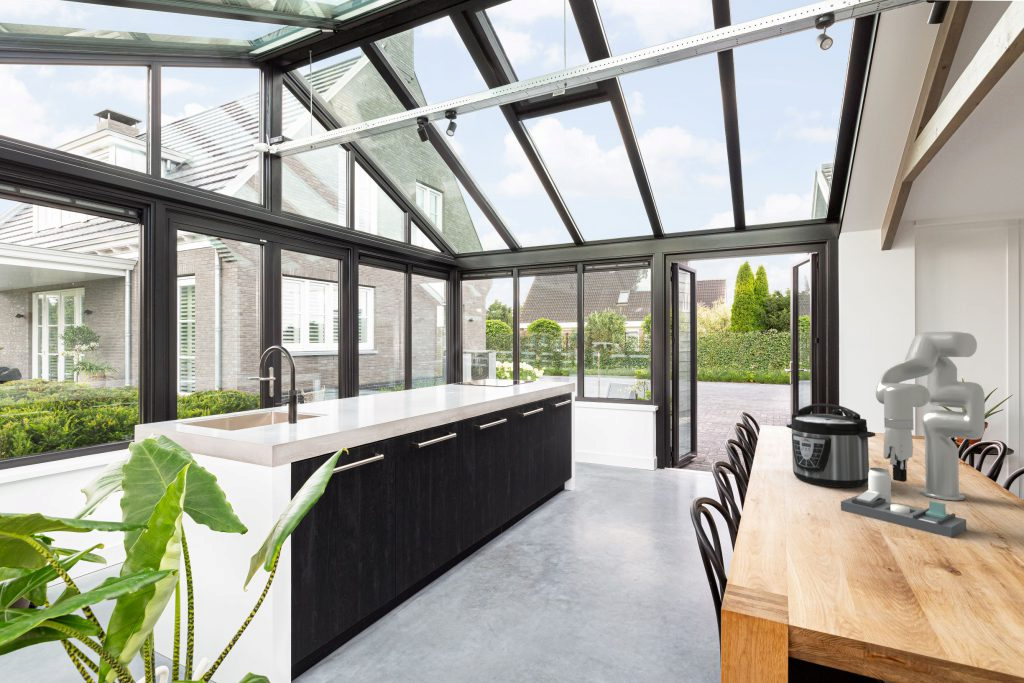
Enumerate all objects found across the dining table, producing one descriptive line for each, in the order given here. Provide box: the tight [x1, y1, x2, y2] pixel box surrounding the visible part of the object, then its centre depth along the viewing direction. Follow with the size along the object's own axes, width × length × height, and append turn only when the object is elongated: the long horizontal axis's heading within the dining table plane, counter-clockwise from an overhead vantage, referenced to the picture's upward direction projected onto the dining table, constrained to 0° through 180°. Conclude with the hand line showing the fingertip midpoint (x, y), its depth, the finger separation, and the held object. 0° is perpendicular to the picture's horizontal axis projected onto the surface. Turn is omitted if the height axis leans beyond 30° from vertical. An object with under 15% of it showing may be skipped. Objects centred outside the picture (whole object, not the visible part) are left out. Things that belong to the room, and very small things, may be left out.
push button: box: [890, 503, 910, 515], centre depth 166 cm, size 5×5×4 cm
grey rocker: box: [856, 489, 881, 503], centre depth 174 cm, size 8×4×1 cm, turn 123°
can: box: [867, 467, 892, 503], centre depth 183 cm, size 6×6×12 cm
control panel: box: [840, 495, 967, 539], centre depth 166 cm, size 12×30×4 cm, turn 33°
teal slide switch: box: [925, 500, 950, 519], centre depth 160 cm, size 4×5×4 cm
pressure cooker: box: [786, 403, 876, 488], centre depth 213 cm, size 30×28×32 cm
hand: (899, 480), depth 166 cm, fingers closed
